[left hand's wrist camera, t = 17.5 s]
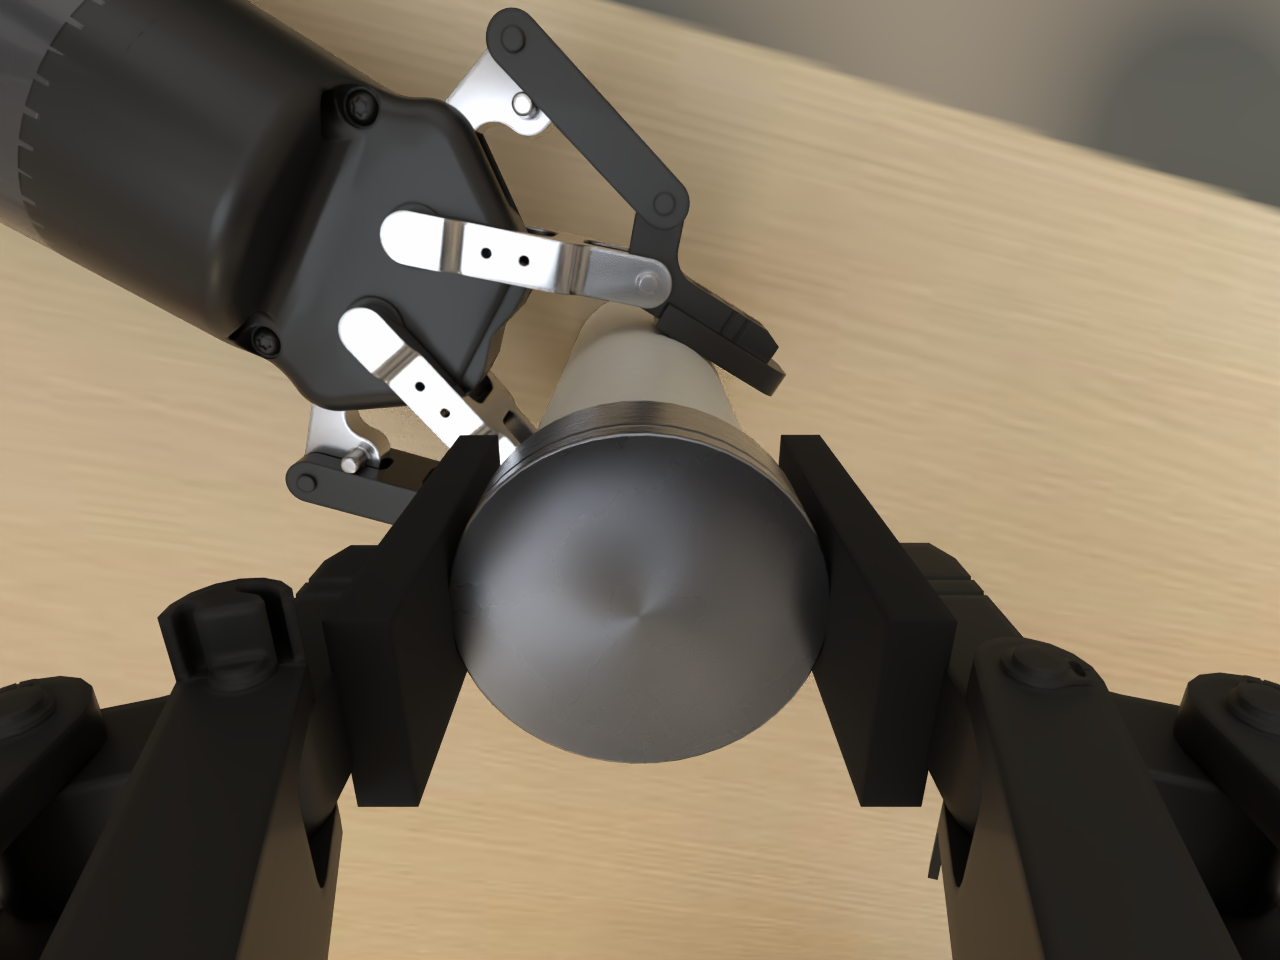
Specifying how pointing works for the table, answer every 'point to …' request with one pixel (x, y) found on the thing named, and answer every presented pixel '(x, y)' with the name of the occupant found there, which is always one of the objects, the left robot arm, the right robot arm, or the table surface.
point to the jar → (634, 368)
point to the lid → (639, 585)
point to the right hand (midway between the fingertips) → (717, 456)
